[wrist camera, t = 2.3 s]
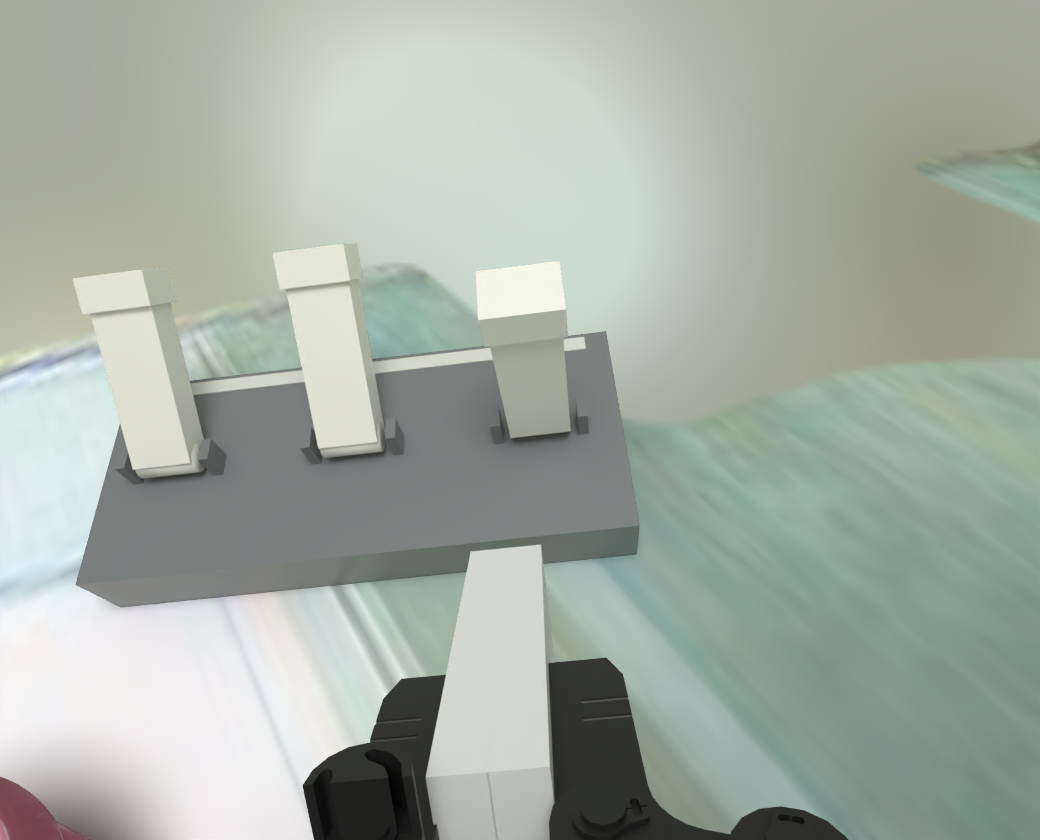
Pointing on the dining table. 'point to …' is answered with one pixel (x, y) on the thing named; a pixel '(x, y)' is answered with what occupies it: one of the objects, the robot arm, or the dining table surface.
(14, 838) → the plant pot
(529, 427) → the lever
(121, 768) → the dining table surface
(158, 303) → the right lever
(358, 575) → the breaker panel
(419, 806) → the robot arm
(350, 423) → the middle lever
